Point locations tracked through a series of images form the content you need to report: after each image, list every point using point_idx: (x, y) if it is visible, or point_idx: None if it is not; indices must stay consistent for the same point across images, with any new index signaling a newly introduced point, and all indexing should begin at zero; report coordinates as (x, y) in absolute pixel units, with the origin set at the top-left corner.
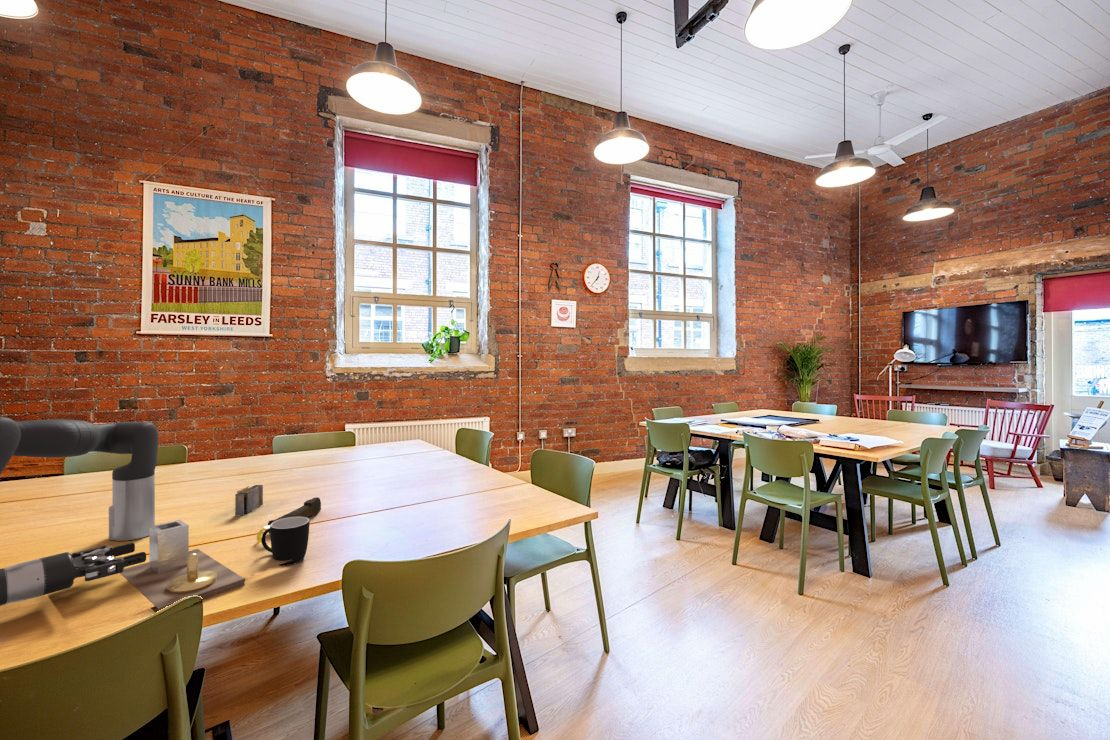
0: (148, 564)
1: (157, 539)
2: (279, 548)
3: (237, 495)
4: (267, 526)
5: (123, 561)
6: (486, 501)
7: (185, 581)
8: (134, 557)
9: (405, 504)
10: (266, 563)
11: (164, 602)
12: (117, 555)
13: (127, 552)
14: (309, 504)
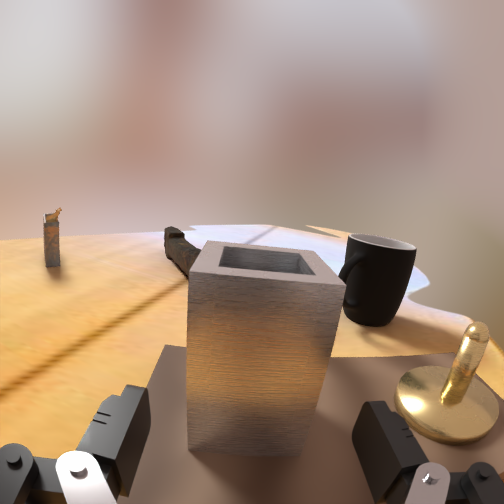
0: (152, 440)
1: (332, 326)
2: (402, 291)
3: (47, 225)
4: None
5: (451, 472)
6: (307, 233)
7: (457, 406)
8: (410, 438)
9: (249, 238)
10: (358, 331)
11: None
12: (132, 482)
13: (143, 443)
14: (182, 235)
